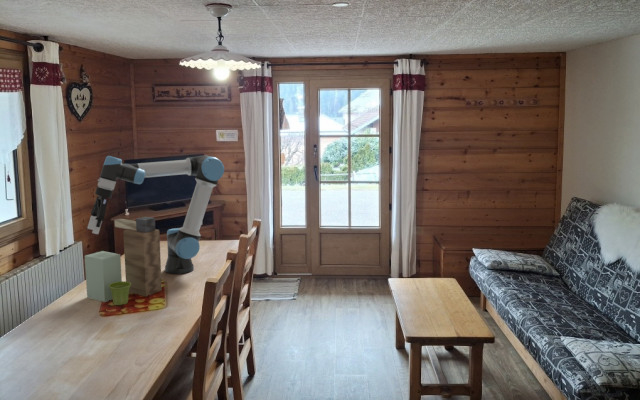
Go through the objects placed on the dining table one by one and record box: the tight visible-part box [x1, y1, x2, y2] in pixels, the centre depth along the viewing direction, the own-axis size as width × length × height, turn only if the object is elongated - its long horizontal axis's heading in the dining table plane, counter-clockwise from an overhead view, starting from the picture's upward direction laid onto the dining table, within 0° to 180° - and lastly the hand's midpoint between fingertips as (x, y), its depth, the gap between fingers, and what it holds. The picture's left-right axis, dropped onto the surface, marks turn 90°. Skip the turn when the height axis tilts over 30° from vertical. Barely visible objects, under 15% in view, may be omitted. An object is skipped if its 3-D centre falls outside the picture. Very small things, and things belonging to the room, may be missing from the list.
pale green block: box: [84, 250, 123, 303], centre depth 258 cm, size 10×12×20 cm
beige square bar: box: [114, 216, 156, 233], centre depth 265 cm, size 6×22×6 cm, turn 60°
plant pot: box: [109, 280, 131, 306], centre depth 251 cm, size 9×9×9 cm
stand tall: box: [122, 228, 163, 297], centre depth 266 cm, size 10×13×30 cm
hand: (92, 231), depth 265 cm, fingers open, 13 cm apart
